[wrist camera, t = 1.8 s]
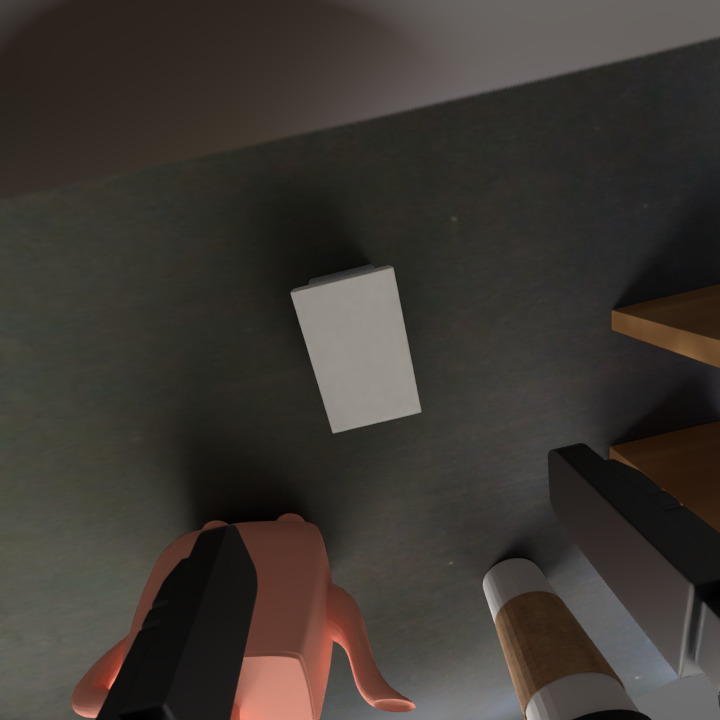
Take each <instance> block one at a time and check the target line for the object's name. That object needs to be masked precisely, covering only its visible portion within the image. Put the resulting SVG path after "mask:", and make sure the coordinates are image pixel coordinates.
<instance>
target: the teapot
mask: <svg viewBox="0 0 720 720" xmlns="http://www.w3.org/2000/svg"><path fill="white" fill-rule="evenodd" d="M227 525H231V524H227V523H225V522H223V521H211V522H208V523H207V524H205V525H204V527H203V529H201V530H197V531H193V532H189V533H186V534H184V535H182V536H180V537H179V538H177V539H176V540H175V541H174V542H173V543H172V544H170V545H169V546H168V547H167V548H166V549H165V550H164V552H163V553H162V554H161V555H160V557H159V559H158V561H157V563H156V564H155V566H154V568H153V570H152V572H151V575H150V577H149V579H148V581H147V584H146V586H145V588H144V591H143V593H142V596H141V598H140V601H139V604H138V607H137V610H136V613H135V616H134V619H133V623H132V626H131V630H130V633H129V635H128V636H127V637H125V638H124V639H123V640H121V641H120V642H119V643H118V644H116V645H115V646H114V647H113V648H112V649H110V650H109V651H108V652H107V653H106V654H105V655H104V656H102V657H101V658H100V659H99V660H98V661H97V662H96V663H95V664H94V665H93V666H92V667H91V668H90V670H89V671H88V672H87V673H86V674H85V675H84V677H83V678H82V679H81V681H80V682H79V683H78V685H77V686H76V688H75V690H74V692H73V694H72V699H71V705H72V708H73V709H74V711H75V712H76V713H77V714H79V715H81V716H84V717H92V718H96V717H97V715H98V713H99V711H100V709H101V707H102V705H103V703H104V701H105V699H106V697H107V695H108V693H109V691H110V690H109V688H110V687H111V685H112V683H113V682H114V681H115V679H116V676H117V674H118V672H119V670H120V668H121V666H122V664H123V662H124V660H125V658H126V656H127V654H128V652H129V650H130V648H131V646H132V644H133V642H134V640H135V638H136V636H137V634H138V632H139V631H140V630H141V629H142V624H143V621H144V619H145V617H146V615H147V613H148V611H149V610H150V609H152V603H153V601H154V599H155V597H156V595H157V593H158V591H159V589H160V587H161V585H162V583H163V581H164V580H165V578H166V577H167V576H168V575H169V574H170V572H171V571H172V570H173V569H174V568H175V566H176V565H177V564H178V563H179V562H180V560H181V559H184V558H188V557H189V555H190V553H191V551H192V549H193V546H194V544H195V542H196V540H197V537H198V536H199V534H200V533H201V532H202V531H206V530H210V529H214V528H218V527H223V526H227ZM233 525H235V526H236V527H237V529H238V530H239V533H240V535H241V537H242V539H243V541H244V544H245V546H246V548H247V550H248V552H249V554H250V557H251V559H252V561H253V563H254V565H255V568H256V572H257V580H258V590H257V597H256V601H255V606H254V611H253V615H252V620H251V625H250V630H249V634H248V639H247V644H246V648H245V653H244V658H243V662H242V667H241V672H240V676H239V681H238V686H237V690H236V695H235V700H234V704H233V709H232V714H231V719H230V720H319V719H320V715H321V710H322V705H323V701H324V696H325V691H326V686H327V681H328V676H329V670H330V663H331V656H332V647H333V641H335V642H337V643H339V644H340V645H341V646H342V647H343V648H344V649H345V650H346V652H347V654H348V657H349V660H350V663H351V667H352V672H353V675H354V679H355V682H356V685H357V688H358V689H359V691H360V693H361V695H362V696H363V697H364V699H365V700H366V701H367V702H368V703H369V704H371V705H372V706H373V707H376V708H378V709H380V710H384V711H390V712H407V711H411V710H413V709H415V705H414V703H413V702H412V701H410V700H409V699H407V698H406V697H404V696H402V695H401V694H400V693H398V692H397V691H395V690H394V689H393V688H391V687H390V686H389V684H388V683H387V682H386V681H385V680H384V678H383V677H382V675H381V673H380V671H379V670H378V668H377V666H376V663H375V660H374V657H373V654H372V651H371V647H370V643H369V639H368V634H367V630H366V627H365V623H364V620H363V617H362V614H361V612H360V610H359V607H358V605H357V604H356V602H355V601H354V599H353V598H352V596H351V595H350V594H348V593H347V592H346V591H345V590H344V589H343V588H341V587H339V586H337V585H335V584H333V583H332V579H331V573H330V567H329V562H328V557H327V553H326V549H325V545H324V541H323V538H322V535H321V533H320V531H319V529H318V527H317V526H316V525H315V524H312V523H309V522H305V521H304V519H303V518H302V517H301V516H299V515H297V514H292V513H288V514H284V515H282V516H280V517H279V518H278V519H277V521H255V522H243V523H234V524H233Z"/></svg>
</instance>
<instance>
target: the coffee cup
mask: <svg viewBox="0 0 720 720" xmlns="http://www.w3.org/2000/svg"><path fill="white" fill-rule="evenodd" d="M483 588H484V592H485V595H486V598H487V601H488V604H489V607H490V610H491V613H492V616H493V619H494V622H495V626H496V630H497V633H498V636H499V639H500V642H501V646H502V649H503V652H504V655H505V658H506V662H507V665H508V668H509V671H510V675H511V678H512V681H513V684H514V687H515V691H516V694H517V697H518V700H519V703H520V707H521V710H522V713H523V716H524V720H651V719H650V718H649V717H648V716H646V715H644V714H643V713H640V712H639V710H638V709H637V707H636V706H635V705H634V703H633V702H632V700H631V699H630V697H629V696H628V695H627V693H626V692H625V687H624V685H623V683H622V681H621V680H620V679H619V677H618V676H617V675H616V673H615V672H614V670H613V669H612V668H611V666H610V665H609V664H608V662H607V661H606V660H605V658H604V657H603V655H602V654H601V653H600V651H599V650H598V649H597V647H596V646H595V645H594V643H593V642H592V640H591V639H590V638H589V636H588V635H587V634H586V632H585V631H584V630H583V628H582V627H581V625H580V624H579V623H578V621H577V620H576V619H575V617H574V616H573V615H572V613H571V612H570V610H569V609H568V608H567V606H566V605H565V604H564V602H563V601H562V600H561V599H560V598H559V596H558V595H557V593H556V592H555V590H554V589H553V588H552V586H551V585H550V583H549V582H548V580H547V579H546V578H545V576H544V575H543V573H542V572H541V570H540V569H539V568H538V566H537V565H536V564H535V563H533V562H531V561H530V560H527V559H522V558H513V559H508V560H505V561H502V562H500V563H498V564H496V565H495V566H493V567H492V568H491V569H490V570H489V571H488V572H487V574H486V575H485V577H484V581H483Z"/></svg>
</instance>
